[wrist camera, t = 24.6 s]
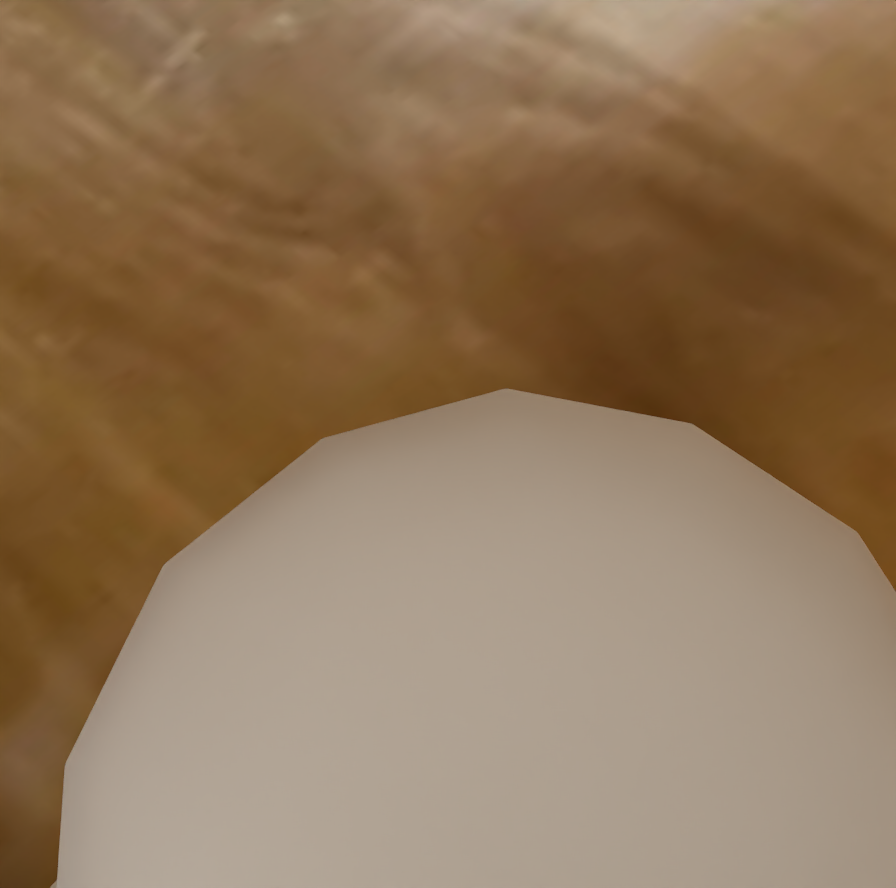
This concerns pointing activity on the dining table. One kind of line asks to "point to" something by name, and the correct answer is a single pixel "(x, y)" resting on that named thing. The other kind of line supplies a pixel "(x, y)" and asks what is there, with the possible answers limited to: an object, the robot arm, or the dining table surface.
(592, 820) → the salt shaker
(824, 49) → the dining table surface
